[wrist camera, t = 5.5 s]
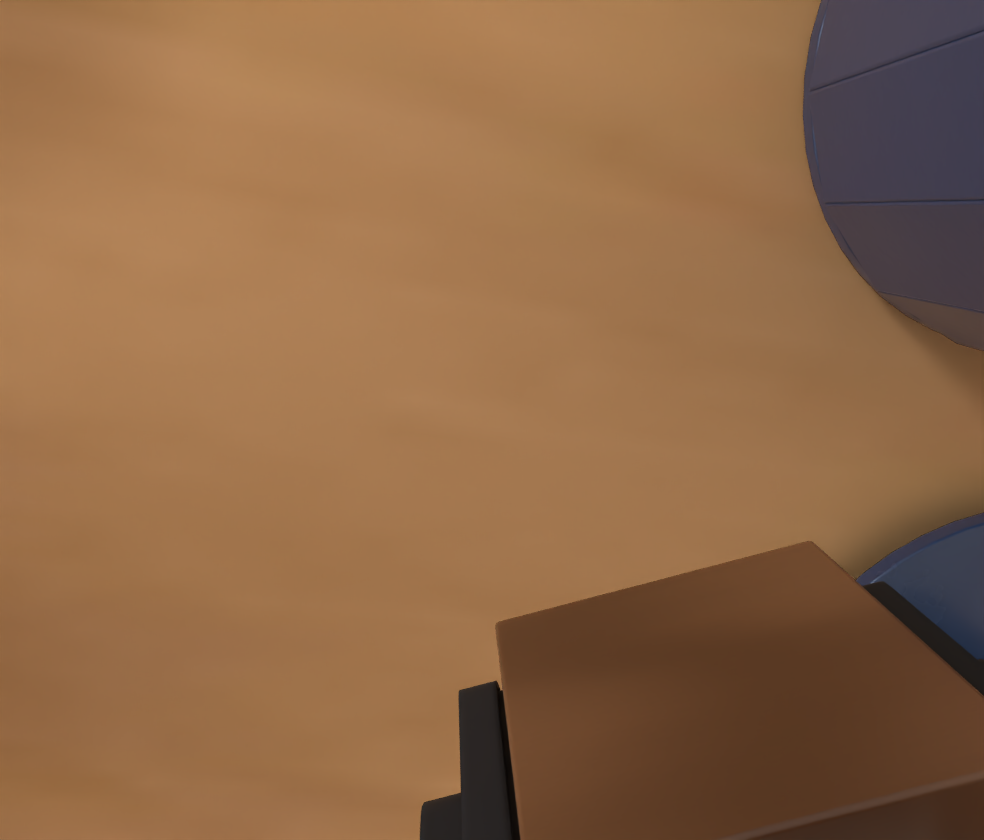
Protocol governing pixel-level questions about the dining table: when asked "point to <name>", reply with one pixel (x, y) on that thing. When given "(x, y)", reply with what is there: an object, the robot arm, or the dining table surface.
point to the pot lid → (942, 579)
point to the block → (738, 713)
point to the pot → (903, 151)
